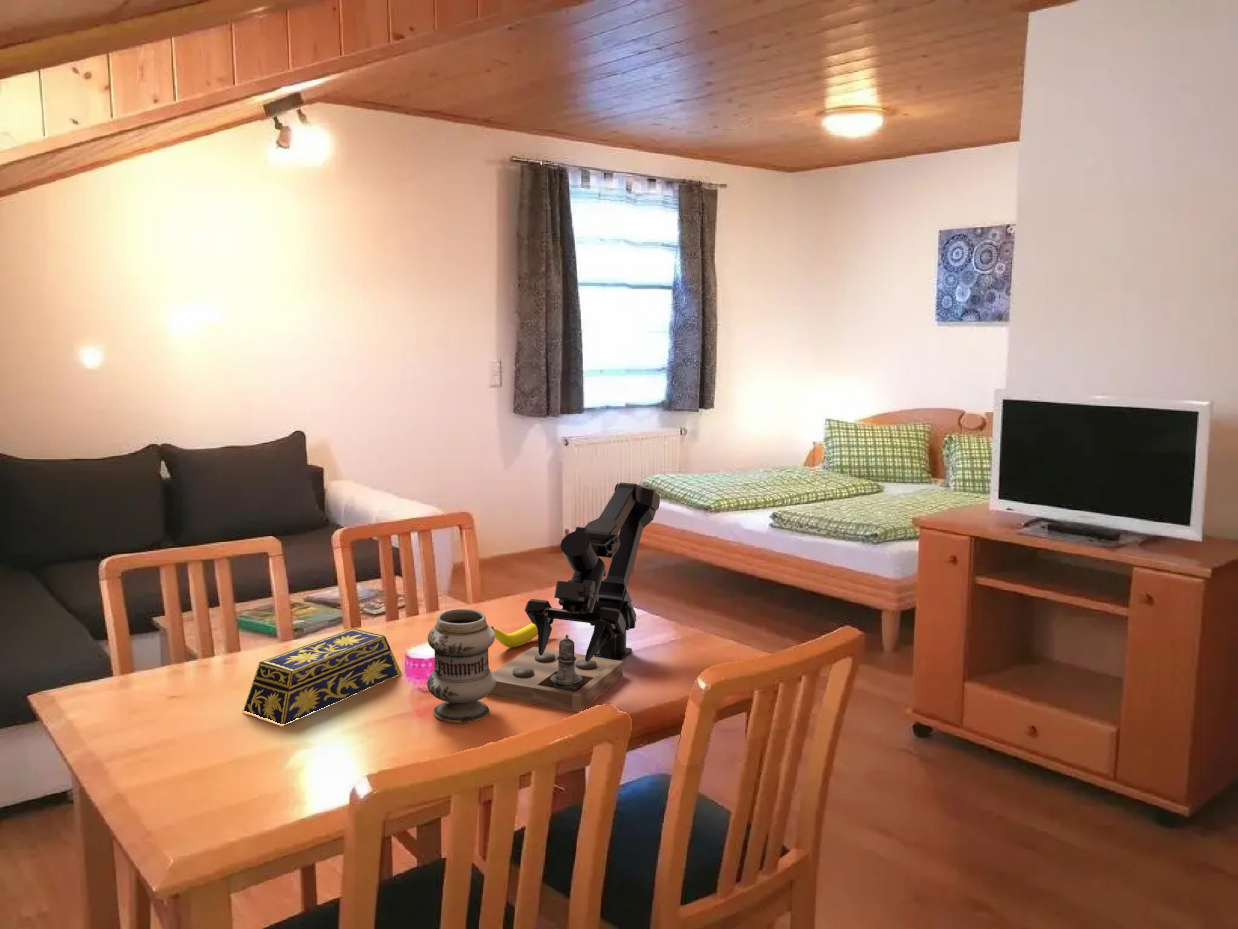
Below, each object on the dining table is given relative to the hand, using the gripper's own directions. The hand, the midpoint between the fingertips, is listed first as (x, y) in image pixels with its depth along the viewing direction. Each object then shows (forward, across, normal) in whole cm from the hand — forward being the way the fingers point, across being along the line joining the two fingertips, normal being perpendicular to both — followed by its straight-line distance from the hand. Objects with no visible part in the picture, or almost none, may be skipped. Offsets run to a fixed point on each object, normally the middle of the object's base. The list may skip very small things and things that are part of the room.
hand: (563, 657), depth 183 cm
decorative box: (+15, -42, -3) cm, 45 cm away
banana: (-12, -20, +24) cm, 33 cm away
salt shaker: (+5, 0, +7) cm, 8 cm away
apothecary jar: (+14, -14, -3) cm, 21 cm away
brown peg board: (+1, -4, +10) cm, 11 cm away
